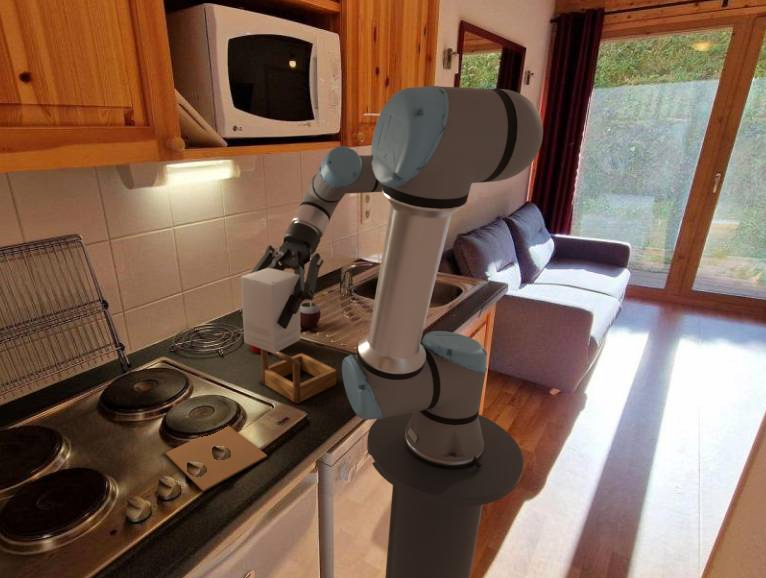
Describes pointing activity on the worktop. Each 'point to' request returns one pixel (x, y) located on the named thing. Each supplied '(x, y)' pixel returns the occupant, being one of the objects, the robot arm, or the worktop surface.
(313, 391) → the open wooden box
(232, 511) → the worktop surface
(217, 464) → the mat
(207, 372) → the worktop surface
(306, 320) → the mate gourd
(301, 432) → the worktop surface
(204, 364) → the worktop surface
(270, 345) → the rectangular carton
